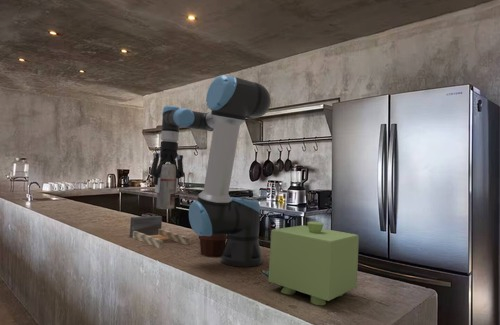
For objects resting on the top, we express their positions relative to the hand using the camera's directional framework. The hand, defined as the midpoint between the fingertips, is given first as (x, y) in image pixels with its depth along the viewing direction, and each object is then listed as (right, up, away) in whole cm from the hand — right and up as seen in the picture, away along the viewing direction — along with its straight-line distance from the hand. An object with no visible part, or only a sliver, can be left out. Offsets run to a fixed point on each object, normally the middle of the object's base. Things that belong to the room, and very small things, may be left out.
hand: (166, 192), depth 152 cm
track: (-4, -22, +2) cm, 22 cm away
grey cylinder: (0, -7, 0) cm, 7 cm away
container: (+55, -24, -55) cm, 81 cm away
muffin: (+22, -23, -17) cm, 36 cm away
